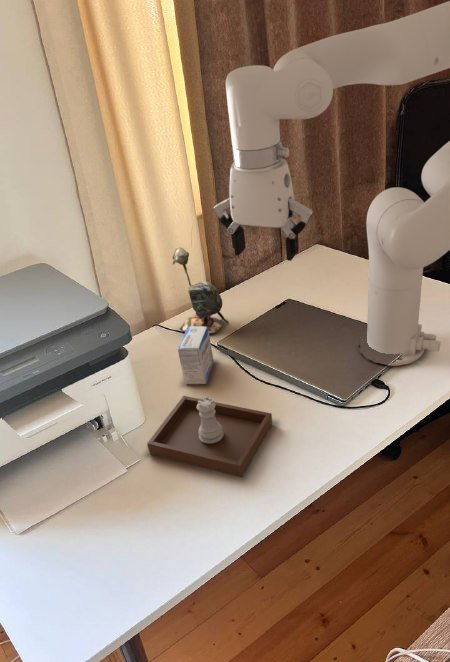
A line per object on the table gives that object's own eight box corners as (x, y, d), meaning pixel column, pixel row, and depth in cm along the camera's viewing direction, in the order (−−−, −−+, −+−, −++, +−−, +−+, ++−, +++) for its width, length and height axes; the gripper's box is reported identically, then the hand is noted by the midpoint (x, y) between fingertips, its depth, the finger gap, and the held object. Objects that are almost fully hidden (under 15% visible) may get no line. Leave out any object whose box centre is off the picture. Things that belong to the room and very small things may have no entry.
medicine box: (206, 385, 123) (199, 348, 118) (184, 384, 124) (176, 348, 119) (214, 361, 129) (208, 325, 124) (193, 361, 130) (186, 325, 125)
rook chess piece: (195, 443, 110) (188, 408, 105) (204, 426, 113) (197, 391, 108) (219, 447, 108) (213, 411, 103) (227, 429, 111) (222, 394, 106)
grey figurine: (214, 344, 134) (201, 258, 121) (175, 330, 140) (158, 247, 128) (237, 326, 138) (226, 241, 126) (198, 313, 145) (184, 231, 132)
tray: (272, 424, 112) (271, 413, 110) (242, 477, 103) (240, 466, 101) (185, 406, 119) (183, 395, 117) (149, 454, 110) (146, 443, 108)
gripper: (317, 148, 98) (320, 249, 109) (217, 145, 105) (229, 241, 116) (301, 165, 93) (305, 269, 104) (197, 161, 100) (212, 260, 111)
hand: (265, 254), depth 110 cm, fingers open, 9 cm apart
